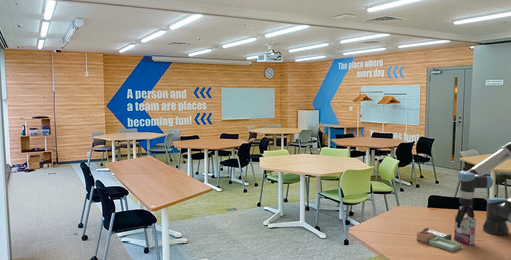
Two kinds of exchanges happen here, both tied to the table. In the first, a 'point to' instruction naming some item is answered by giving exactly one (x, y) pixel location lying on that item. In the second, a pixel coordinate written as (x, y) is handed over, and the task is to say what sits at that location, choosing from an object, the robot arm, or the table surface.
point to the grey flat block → (437, 234)
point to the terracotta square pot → (424, 236)
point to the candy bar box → (466, 231)
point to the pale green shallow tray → (445, 244)
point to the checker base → (436, 236)
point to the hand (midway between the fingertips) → (464, 230)
